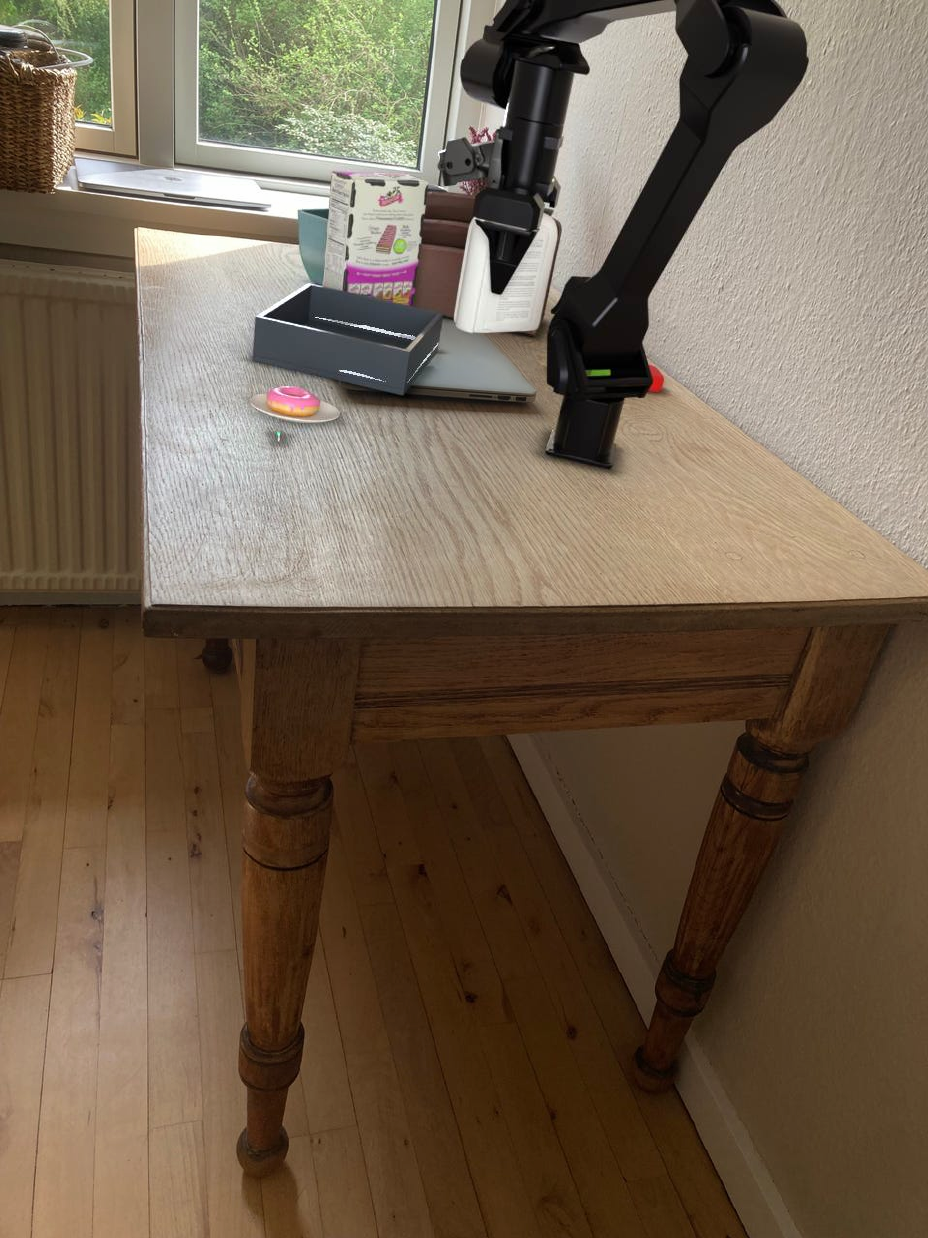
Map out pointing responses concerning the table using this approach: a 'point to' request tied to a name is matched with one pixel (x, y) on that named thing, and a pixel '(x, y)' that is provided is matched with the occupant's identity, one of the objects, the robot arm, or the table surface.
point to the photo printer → (521, 294)
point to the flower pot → (313, 241)
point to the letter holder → (450, 253)
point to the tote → (347, 337)
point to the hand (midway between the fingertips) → (503, 284)
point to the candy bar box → (374, 234)
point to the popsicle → (657, 376)
